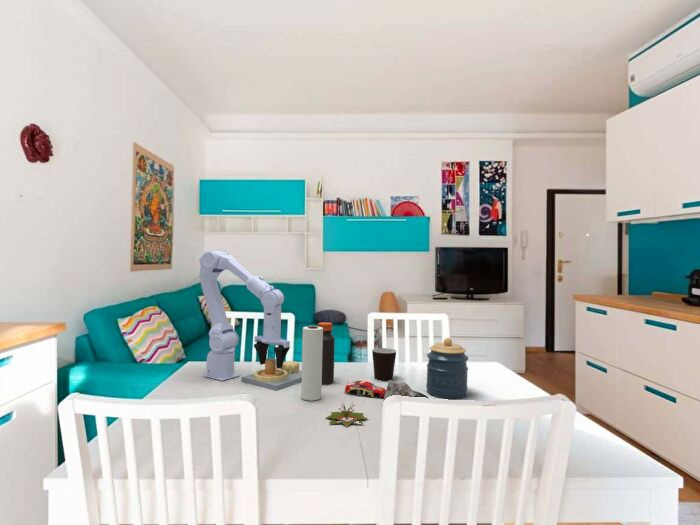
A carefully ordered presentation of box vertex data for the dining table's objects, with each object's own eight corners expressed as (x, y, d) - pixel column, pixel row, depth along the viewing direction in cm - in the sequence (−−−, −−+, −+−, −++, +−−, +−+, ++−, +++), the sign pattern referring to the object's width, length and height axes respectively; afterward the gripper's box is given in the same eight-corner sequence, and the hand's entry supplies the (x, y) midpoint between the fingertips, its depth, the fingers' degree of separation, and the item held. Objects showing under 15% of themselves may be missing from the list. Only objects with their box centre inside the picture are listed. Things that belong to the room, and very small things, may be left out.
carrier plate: (241, 381, 143) (241, 368, 143) (279, 370, 159) (280, 358, 159) (276, 390, 134) (276, 376, 134) (313, 377, 150) (313, 364, 150)
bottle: (321, 386, 140) (323, 325, 140) (309, 381, 145) (311, 322, 145) (337, 382, 145) (339, 323, 145) (325, 378, 150) (326, 321, 150)
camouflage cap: (426, 411, 126) (419, 417, 117) (391, 398, 131) (382, 403, 121) (432, 389, 127) (426, 394, 117) (397, 376, 131) (388, 380, 122)
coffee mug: (388, 383, 145) (389, 354, 145) (366, 379, 150) (367, 350, 149) (403, 376, 155) (404, 348, 155) (382, 372, 159) (383, 345, 159)
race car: (388, 395, 134) (388, 382, 134) (384, 400, 128) (384, 387, 128) (348, 389, 138) (349, 377, 138) (343, 394, 133) (343, 382, 133)
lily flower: (325, 412, 118) (326, 395, 118) (368, 413, 118) (369, 396, 118) (322, 429, 106) (322, 411, 106) (370, 430, 106) (370, 412, 106)
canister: (440, 384, 146) (442, 333, 145) (475, 393, 136) (476, 338, 136) (417, 392, 136) (419, 337, 136) (453, 402, 127) (454, 343, 127)
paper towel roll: (316, 402, 124) (317, 329, 124) (297, 399, 126) (299, 327, 126) (325, 395, 131) (327, 326, 131) (308, 392, 133) (309, 324, 133)
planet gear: (255, 377, 143) (255, 360, 142) (269, 373, 148) (269, 356, 148) (270, 381, 139) (271, 363, 139) (284, 377, 144) (285, 359, 144)
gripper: (248, 324, 144) (247, 364, 144) (279, 329, 136) (278, 371, 136) (263, 322, 150) (262, 360, 150) (294, 327, 142) (293, 367, 142)
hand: (271, 365), depth 144 cm, fingers open, 7 cm apart
